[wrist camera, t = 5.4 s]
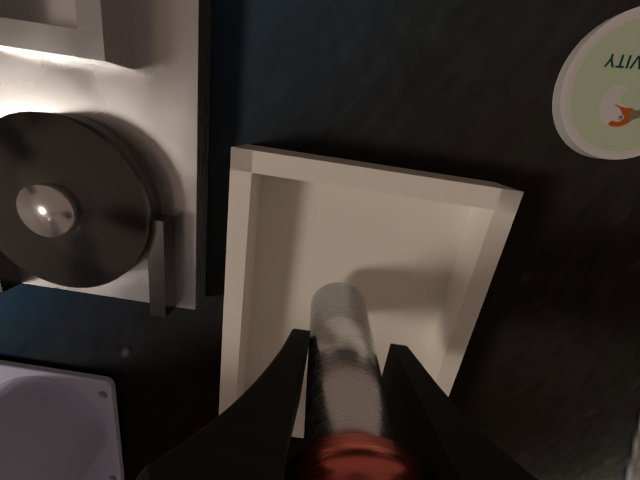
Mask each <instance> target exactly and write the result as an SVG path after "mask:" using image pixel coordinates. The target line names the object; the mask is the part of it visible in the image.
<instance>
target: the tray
mask: <svg viewBox="0 0 640 480" xmlns="http://www.w3.org/2000/svg"><path fill="white" fill-rule="evenodd" d="M523 193H524V192H522V191H519V190H516V189H513V188H510V187H507V186H504V185H501V184H498V183H495V182H491V181H484V180H478V179H471V178H465V177H458V176H452V175H445V174H439V173H432V172H426V171H419V170H413V169H406V168H400V167H393V166H387V165H380V164H374V163H367V162H361V161H354V160H348V159H341V158H335V157H328V156H322V155H315V154H309V153H302V152H296V151H289V150H283V149H276V148H270V147H263V146H257V145H250V144H246V145H240V146H234V147H231V159H230V181H229V202H228V224H227V245H226V267H225V289H224V310H223V332H222V354H221V375H220V397H219V415H220V414H221V413H223V412H224V411H225V410H226V409H227V408H228V407H229V406H231V405H232V404H233V403H234V402H235V401H236V400H237V399H238V398H239V397H240V396H241V395H242V394H243V393H244V392H245V391H246V390H247V389H248V388H249V387H250V386H251V385H252V384H253V383H254V382H255V381H256V380H257V379H258V378H259V376H260V375H261V374H262V373H263V372H264V371H265V369H266V368H267V367H268V366H269V365H270V363H271V362H272V361H273V359H274V358H275V357H276V355H277V354H278V352H279V351H280V350H281V348H282V347H283V345H284V343H285V342H286V340H287V338H288V336H289V335H290V332H291V330H293V329H294V328H295V329H301V330H308V331H309V328H310V309H311V300H312V297H313V296H314V294H315V293H316V291H317V290H319V289H320V288H321V287H323V286H325V285H327V284H330V283H335V282H341V283H347V284H350V285H352V286H354V287H356V288H357V289H358V290H359V291H360V292H361V294H362V295H363V297H364V300H365V304H366V309H367V313H368V318H369V322H370V327H371V331H372V335H373V340H374V344H375V349H376V353H377V358H378V362H379V366H380V371H381V375H382V374H383V370H384V366H385V363H386V359H387V355H388V351H389V348H390V344H391V343H392V344H399V345H405V346H407V347H408V348H409V349H410V350H411V351H412V353H413V354H414V355H415V357H416V358H417V359H418V360H419V362H420V363H421V364H422V366H423V367H424V368H425V369H426V371H427V372H428V373H429V374H430V376H431V377H432V378H433V379H434V381H435V382H436V383H437V384H438V386H439V387H440V388H441V389H442V390H443V391H444V393H445V394H446V395H447V396H448V397H449V394H450V391H451V389H452V386H453V383H454V381H455V378H456V375H457V372H458V370H459V367H460V364H461V362H462V359H463V356H464V353H465V351H466V348H467V345H468V343H469V340H470V337H471V334H472V332H473V329H474V326H475V324H476V321H477V318H478V315H479V313H480V310H481V307H482V305H483V302H484V299H485V296H486V294H487V291H488V288H489V286H490V283H491V280H492V277H493V275H494V272H495V269H496V267H497V264H498V261H499V258H500V256H501V253H502V250H503V248H504V245H505V242H506V239H507V237H508V234H509V231H510V229H511V226H512V223H513V220H514V218H515V215H516V212H517V210H518V207H519V204H520V201H521V199H522V196H523ZM307 366H308V354H307V360H306V366H305V372H304V378H303V385H302V391H301V397H300V403H299V407H298V411H297V415H296V420H295V424H294V428H293V432H292V436H291V437H298V438H304V424H305V405H306V385H307Z"/></svg>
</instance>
